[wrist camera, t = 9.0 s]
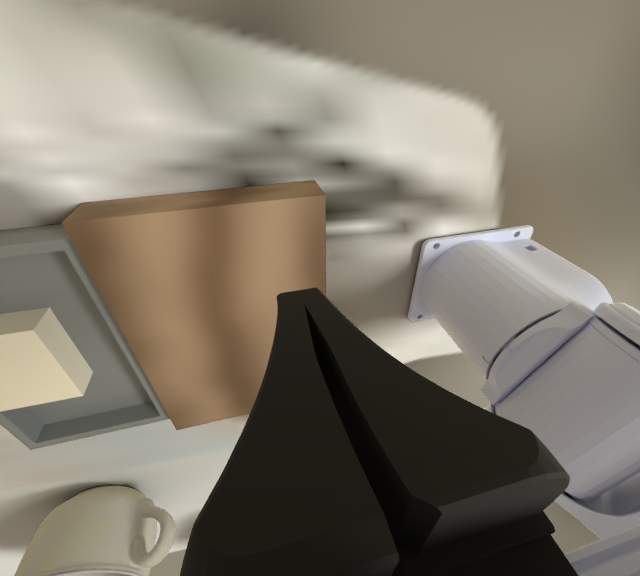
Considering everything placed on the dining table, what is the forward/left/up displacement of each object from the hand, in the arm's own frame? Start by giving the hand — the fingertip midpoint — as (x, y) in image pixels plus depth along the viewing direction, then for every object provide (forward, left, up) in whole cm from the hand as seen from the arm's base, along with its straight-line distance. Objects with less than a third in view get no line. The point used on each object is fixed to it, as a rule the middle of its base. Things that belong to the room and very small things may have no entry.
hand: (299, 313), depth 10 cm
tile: (+16, +8, -8) cm, 20 cm away
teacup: (+19, +30, -11) cm, 37 cm away
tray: (+15, +8, -10) cm, 20 cm away
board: (+3, +8, -10) cm, 14 cm away
